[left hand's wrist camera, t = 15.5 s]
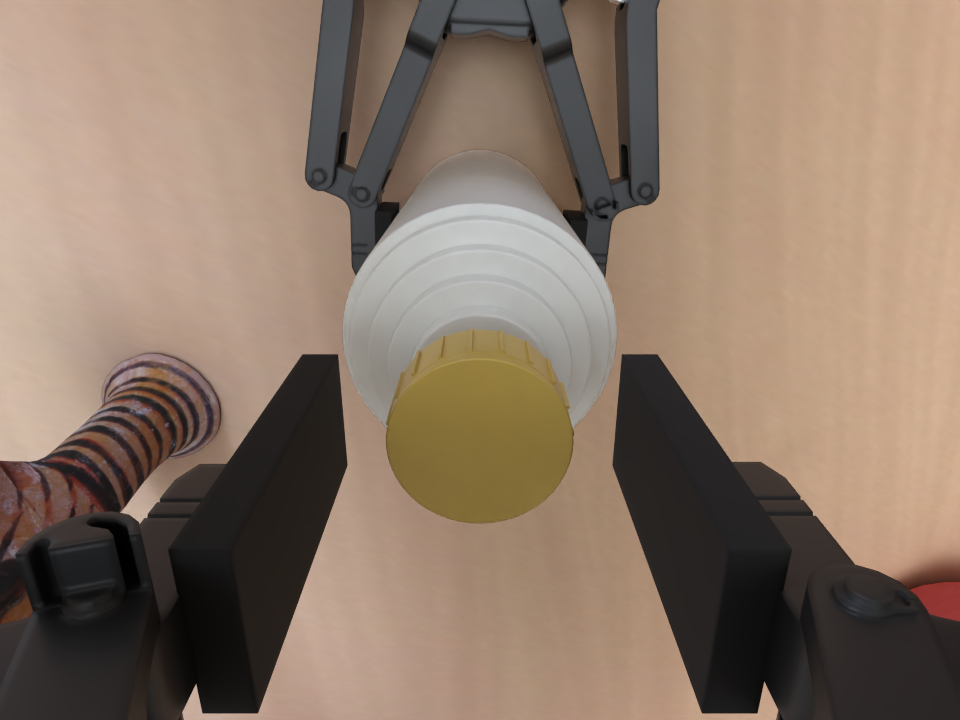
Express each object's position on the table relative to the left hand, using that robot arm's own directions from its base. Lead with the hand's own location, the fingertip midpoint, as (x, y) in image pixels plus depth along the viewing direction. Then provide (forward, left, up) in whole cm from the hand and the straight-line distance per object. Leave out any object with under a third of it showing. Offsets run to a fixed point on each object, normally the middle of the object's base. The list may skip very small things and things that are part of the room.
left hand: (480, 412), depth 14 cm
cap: (0, 0, +1) cm, 1 cm away
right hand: (-4, -3, -17) cm, 18 cm away
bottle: (0, 0, -23) cm, 23 cm away
